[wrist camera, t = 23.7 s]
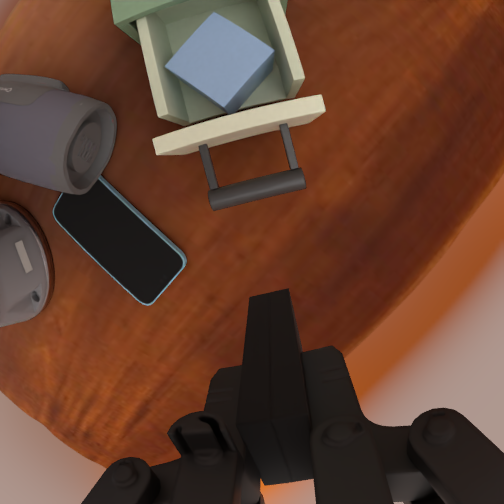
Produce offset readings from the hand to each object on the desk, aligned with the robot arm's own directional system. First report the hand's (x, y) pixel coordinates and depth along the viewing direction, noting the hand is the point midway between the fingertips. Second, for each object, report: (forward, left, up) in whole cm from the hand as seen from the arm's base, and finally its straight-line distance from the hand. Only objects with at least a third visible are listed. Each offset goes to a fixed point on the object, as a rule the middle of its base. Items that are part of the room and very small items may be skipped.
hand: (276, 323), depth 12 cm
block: (0, +14, -16) cm, 21 cm away
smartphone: (-15, +3, -18) cm, 24 cm away
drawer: (0, +13, -17) cm, 21 cm away
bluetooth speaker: (-19, +22, -15) cm, 33 cm away
